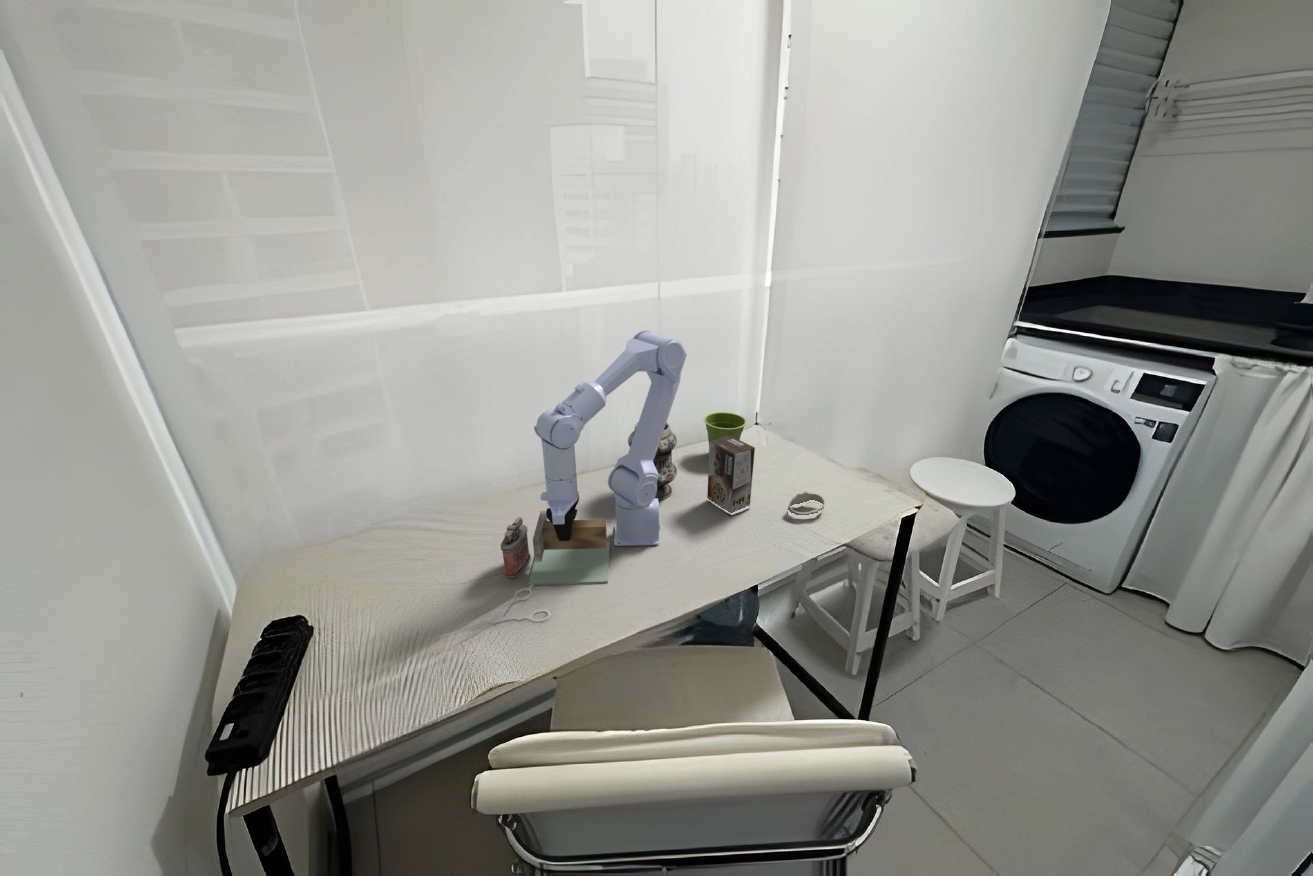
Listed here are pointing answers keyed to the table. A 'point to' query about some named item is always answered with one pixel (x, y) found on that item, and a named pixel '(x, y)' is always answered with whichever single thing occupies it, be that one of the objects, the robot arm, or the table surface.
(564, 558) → the tool mat
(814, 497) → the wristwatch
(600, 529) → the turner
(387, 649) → the table surface
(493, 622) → the scissors
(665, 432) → the apothecary jar
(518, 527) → the lighter
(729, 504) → the coffee box
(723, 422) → the plant pot
